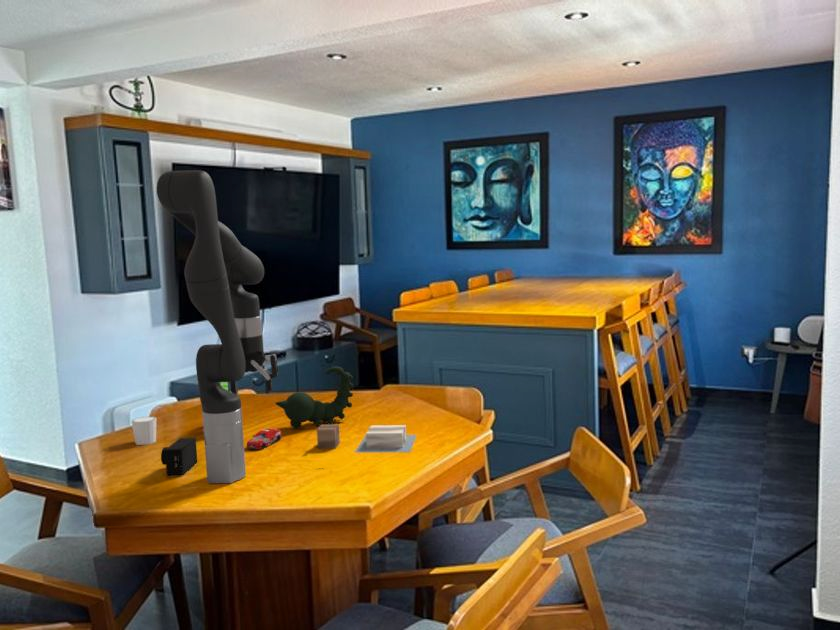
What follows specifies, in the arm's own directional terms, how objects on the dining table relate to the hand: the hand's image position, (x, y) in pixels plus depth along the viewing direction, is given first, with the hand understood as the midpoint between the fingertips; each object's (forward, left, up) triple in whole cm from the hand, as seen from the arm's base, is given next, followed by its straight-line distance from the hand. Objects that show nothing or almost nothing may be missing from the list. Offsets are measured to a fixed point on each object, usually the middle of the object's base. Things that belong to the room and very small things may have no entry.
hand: (252, 393), depth 184 cm
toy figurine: (+33, -8, -18) cm, 39 cm away
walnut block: (+9, -18, -18) cm, 27 cm away
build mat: (+11, -34, -18) cm, 40 cm away
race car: (+13, +2, -18) cm, 23 cm away
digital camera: (-9, +17, -18) cm, 26 cm away
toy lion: (+30, +20, -18) cm, 41 cm away
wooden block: (+11, -34, -17) cm, 39 cm away
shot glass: (+15, +39, -18) cm, 46 cm away
